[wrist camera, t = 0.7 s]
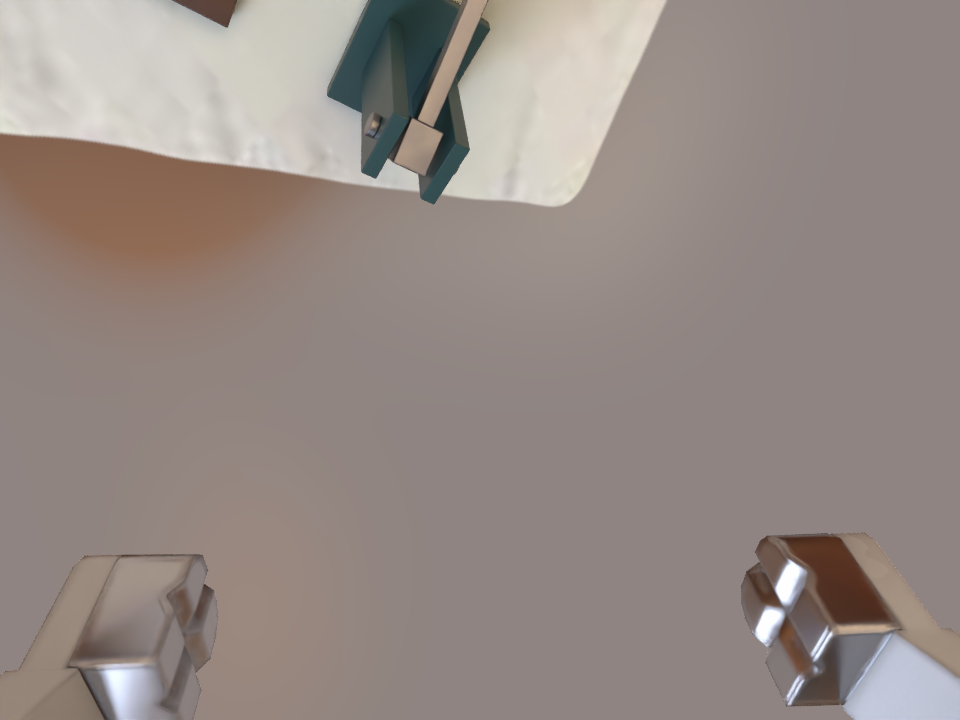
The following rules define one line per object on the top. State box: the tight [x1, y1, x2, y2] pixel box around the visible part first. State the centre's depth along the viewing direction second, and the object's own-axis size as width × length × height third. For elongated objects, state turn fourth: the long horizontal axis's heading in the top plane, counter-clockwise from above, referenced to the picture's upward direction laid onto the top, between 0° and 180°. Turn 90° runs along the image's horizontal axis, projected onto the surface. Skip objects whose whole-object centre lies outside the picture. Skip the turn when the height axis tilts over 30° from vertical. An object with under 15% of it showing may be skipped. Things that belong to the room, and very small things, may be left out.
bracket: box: [327, 0, 490, 204], centre depth 43 cm, size 10×8×14 cm
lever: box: [388, 0, 488, 177], centre depth 38 cm, size 16×6×2 cm, turn 150°
